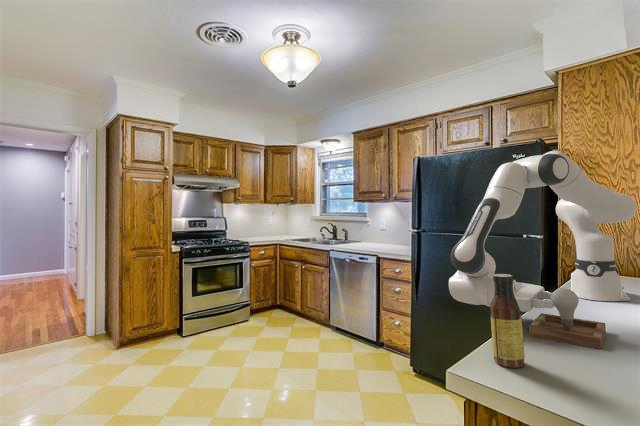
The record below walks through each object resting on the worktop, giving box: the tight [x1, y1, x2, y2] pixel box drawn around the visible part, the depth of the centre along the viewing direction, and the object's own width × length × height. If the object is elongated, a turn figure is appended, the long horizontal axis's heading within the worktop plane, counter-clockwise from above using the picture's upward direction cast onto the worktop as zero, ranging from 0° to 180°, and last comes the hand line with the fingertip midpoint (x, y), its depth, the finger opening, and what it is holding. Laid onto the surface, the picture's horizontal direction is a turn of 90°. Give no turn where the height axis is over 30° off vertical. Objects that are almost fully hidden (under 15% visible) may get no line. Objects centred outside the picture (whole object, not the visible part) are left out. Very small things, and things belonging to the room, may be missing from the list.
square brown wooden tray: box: [528, 313, 607, 350], centre depth 92 cm, size 15×15×2 cm
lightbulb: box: [551, 287, 579, 328], centre depth 93 cm, size 6×6×11 cm
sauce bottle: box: [489, 273, 526, 369], centre depth 76 cm, size 7×6×20 cm
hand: (557, 301), depth 93 cm, fingers open, 8 cm apart
